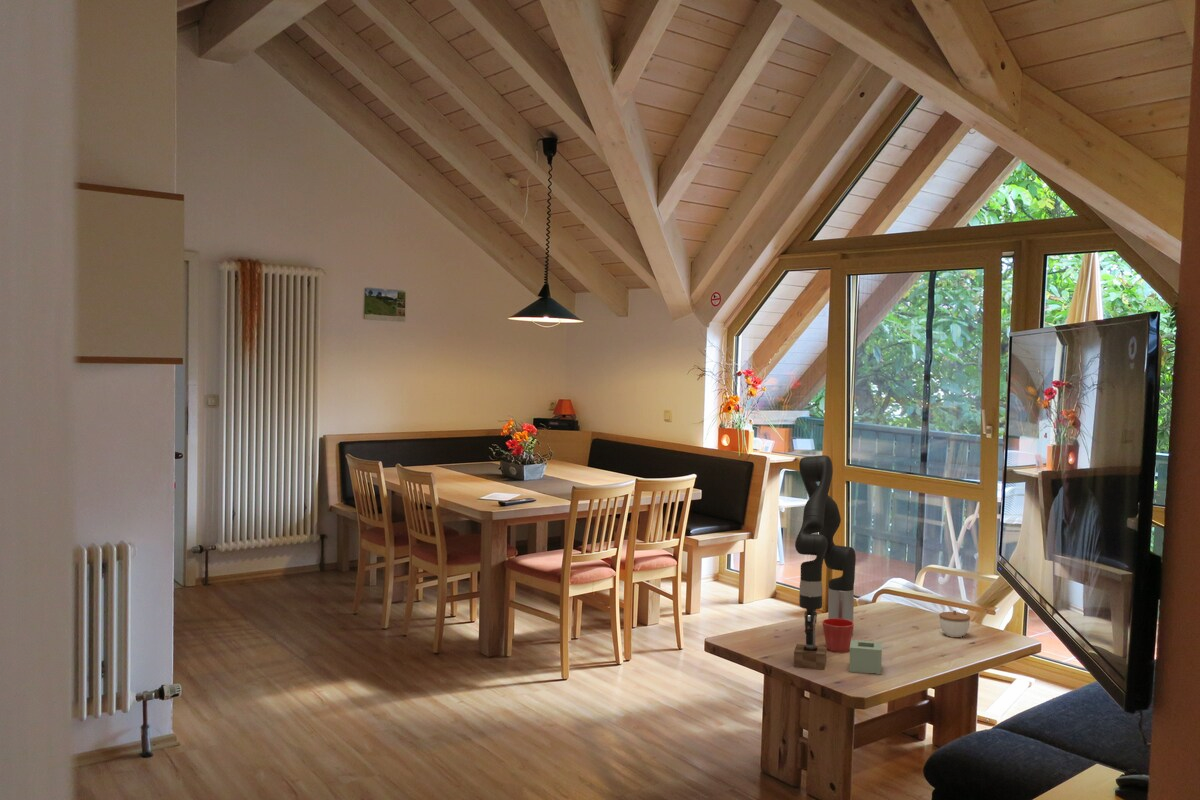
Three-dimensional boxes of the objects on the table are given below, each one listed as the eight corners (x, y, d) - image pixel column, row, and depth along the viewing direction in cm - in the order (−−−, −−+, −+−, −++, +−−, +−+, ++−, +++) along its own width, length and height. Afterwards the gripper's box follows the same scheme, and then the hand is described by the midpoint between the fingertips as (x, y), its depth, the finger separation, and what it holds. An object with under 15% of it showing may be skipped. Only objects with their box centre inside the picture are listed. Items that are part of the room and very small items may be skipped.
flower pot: (830, 654, 331) (830, 626, 330) (817, 645, 341) (817, 618, 341) (858, 652, 333) (859, 625, 332) (844, 644, 343) (845, 617, 343)
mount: (796, 658, 325) (796, 643, 325) (826, 660, 323) (826, 646, 322) (793, 666, 316) (793, 651, 316) (824, 669, 313) (824, 654, 313)
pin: (806, 662, 321) (806, 621, 321) (815, 662, 320) (815, 621, 320) (805, 664, 318) (805, 623, 318) (814, 665, 317) (814, 624, 317)
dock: (850, 663, 320) (850, 639, 320) (881, 665, 317) (881, 642, 317) (849, 671, 311) (849, 647, 310) (881, 674, 308) (881, 650, 308)
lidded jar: (950, 640, 349) (950, 615, 349) (933, 632, 360) (933, 608, 359) (975, 638, 352) (976, 613, 352) (958, 631, 362) (958, 606, 362)
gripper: (801, 588, 327) (800, 635, 327) (797, 596, 313) (797, 646, 313) (823, 589, 324) (823, 637, 325) (820, 598, 311) (820, 648, 311)
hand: (810, 641), depth 319 cm, fingers open, 7 cm apart
